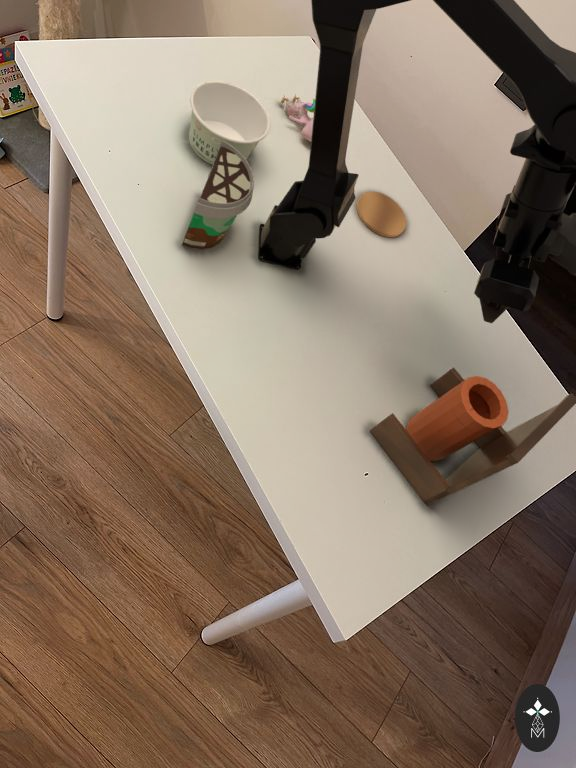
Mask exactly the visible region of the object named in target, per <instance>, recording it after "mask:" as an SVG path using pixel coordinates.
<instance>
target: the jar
mask: <svg viewBox="0 0 576 768" xmlns="http://www.w3.org/2000/svg"><path fill="white" fill-rule="evenodd" d="M508 415H509V408H508V403H507V400H506V397H505V395H504V394H503V392H502V390H501V389H500V388H499V387H498V386H497V385H496V383H494V382H492V381H491V380H489V379H488V378H486V377H482V376H480V375H479V376H478V375H473V376H470V377H467V378H466V379H464V381H463V382H461V383H460V384H458V385H457V386H456V387H454V388H453V389H451V390H450V391H449V392H447V393H446V394H444V395H443V396H442V397H439V398H437V399H436V400H435V401H433V402H431V403H430V404H428V405H427V406H426V407H424V408H423V409H422V410H421V411H419V412H418V413H416V414H415V415H414V416H412V417H411V418H410V419H409V421H408V423H407V425H406V431H407V432H408V433H409V434H410V436H411V437H412V438H413V440H414V441H415V442H416V443H417V445H418V446H419V447H420V449H421V450H422V451H423V452H424V454H425V455H426V456H427V458H428V459H429V460H430V461H431V462H438V461H441V460H443V459H446V458H447V457H449V456H451V455H453V454H455V453H456V452H458V451H460V450H462V449H463V448H465V447H467V446H469V445H471V444H473V443H474V442H475V441H476V440H478V439H479V438H481V437H483V436H485V435H487V434H488V433H490V432H492V431H494V430H495V429H497V428H499V427H501V426H502V427H503V425H504V424H505V423H506V422H507V420H508Z"/></svg>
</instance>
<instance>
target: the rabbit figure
mask: <svg viewBox="0 0 576 768" xmlns="http://www.w3.org/2000/svg"><path fill="white" fill-rule="evenodd" d="M285 97H286V96H285V94H283V97H282V99H281V100H280V102H279V105H280V106H282V105H284V104H285V113H286V115H287V116H288V119H289V120H291V121H293V122H295V123H298V124H299V125H301V126H303V128H302V130H301V136H302V137H303V138H305V139H306V140H307V141H308V142H310V143H311V138H312V128H313V117H310V116H309V114H308V112H310V113H314V107H315V98H312V102H302V101H301V97H298V96H297V94H296V93H295V94H294V96H293V98H292V100H291V101H290V99H289V98H287V97H286V98H285ZM285 102H286V103H285Z"/></svg>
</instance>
